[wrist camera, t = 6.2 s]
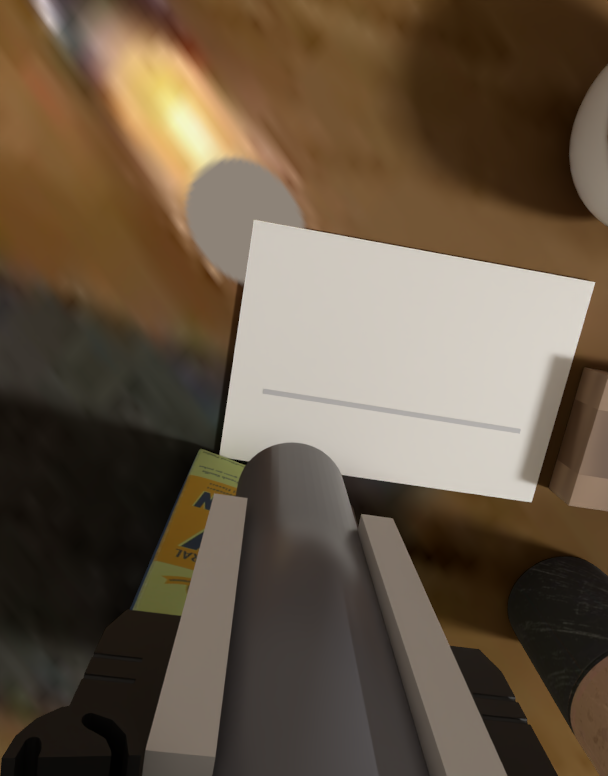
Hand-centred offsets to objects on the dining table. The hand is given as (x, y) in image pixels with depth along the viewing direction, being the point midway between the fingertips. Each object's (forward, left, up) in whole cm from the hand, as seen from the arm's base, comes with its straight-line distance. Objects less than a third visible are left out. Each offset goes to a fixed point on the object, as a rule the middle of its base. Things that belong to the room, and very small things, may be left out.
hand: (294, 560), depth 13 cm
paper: (+7, +1, -20) cm, 21 cm away
